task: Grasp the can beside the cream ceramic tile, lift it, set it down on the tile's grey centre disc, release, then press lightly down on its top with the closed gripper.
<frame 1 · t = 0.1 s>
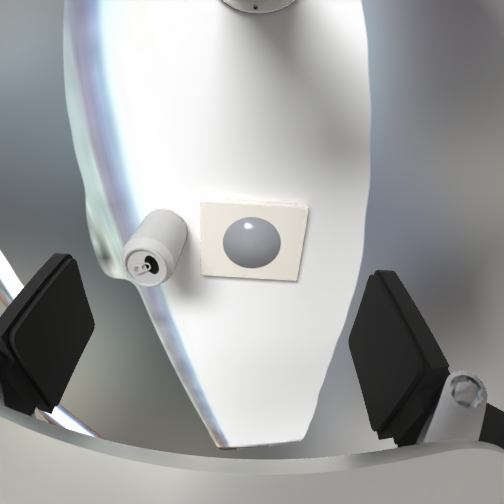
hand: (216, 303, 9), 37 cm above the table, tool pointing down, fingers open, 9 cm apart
tile: (251, 239, 50), on the table
can: (166, 227, 49), on the table
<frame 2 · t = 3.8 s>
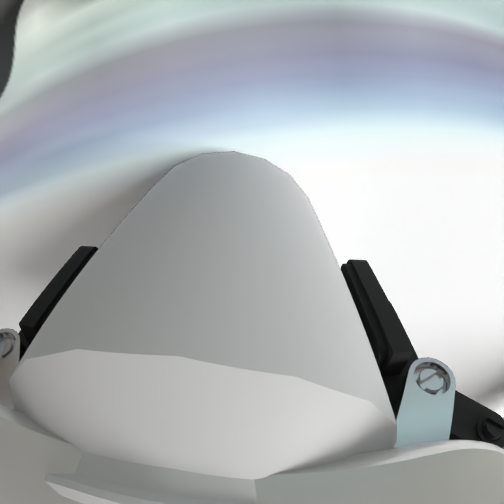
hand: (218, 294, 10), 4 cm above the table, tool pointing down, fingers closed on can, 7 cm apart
can: (228, 229, 14), on the table, touching gripper
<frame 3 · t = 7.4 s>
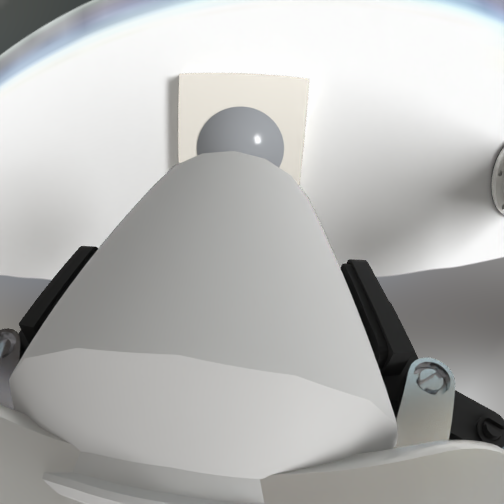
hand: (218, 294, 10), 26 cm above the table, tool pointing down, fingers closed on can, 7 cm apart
tile: (240, 146, 32), on the table
can: (228, 229, 14), point 21 cm above the table, touching gripper
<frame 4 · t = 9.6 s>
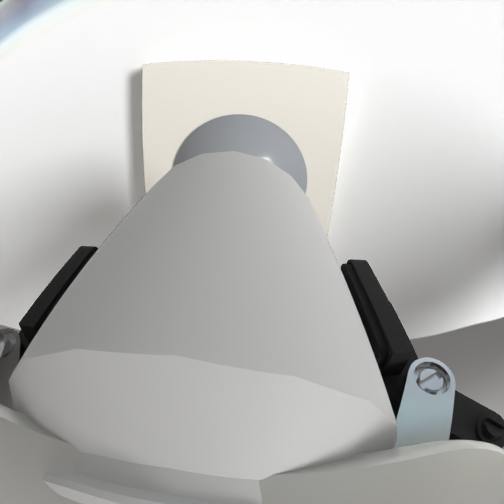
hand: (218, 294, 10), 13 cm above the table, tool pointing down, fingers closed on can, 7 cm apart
tile: (239, 175, 21), on the table
can: (228, 229, 14), point 9 cm above the table, touching gripper
when the fingers open (7 cm above the table, at t = 11.5 s): can stays where it is, resting on tile.
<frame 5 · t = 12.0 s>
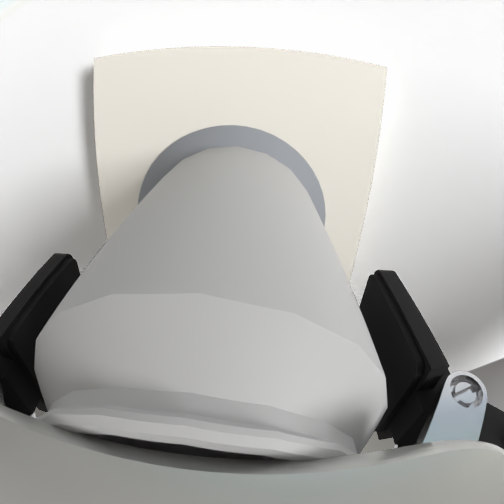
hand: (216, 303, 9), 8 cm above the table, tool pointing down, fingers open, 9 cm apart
tile: (231, 209, 16), on the table
can: (231, 220, 15), point 1 cm above the table, touching tile
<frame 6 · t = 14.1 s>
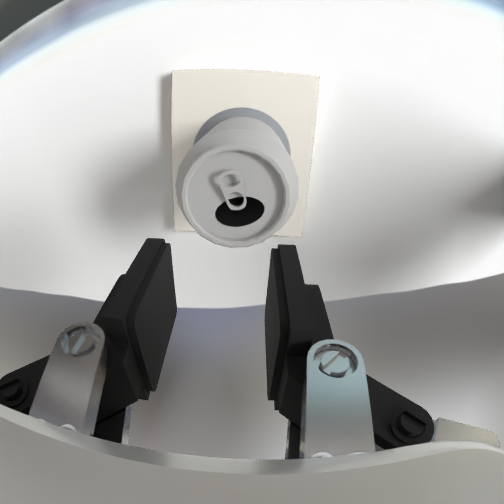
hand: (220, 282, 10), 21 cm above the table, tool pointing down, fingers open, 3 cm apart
tile: (241, 152, 29), on the table
can: (242, 155, 27), point 1 cm above the table, touching tile
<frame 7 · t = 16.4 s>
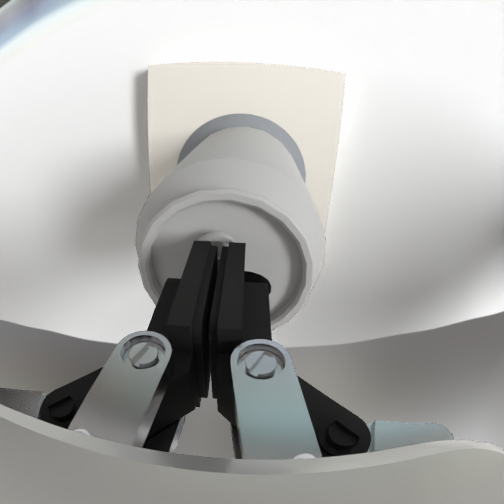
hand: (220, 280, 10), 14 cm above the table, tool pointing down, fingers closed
tile: (241, 172, 22), on the table
can: (241, 177, 21), point 1 cm above the table, touching gripper, tile
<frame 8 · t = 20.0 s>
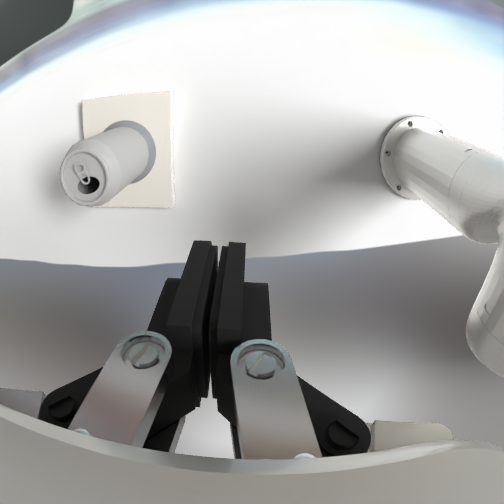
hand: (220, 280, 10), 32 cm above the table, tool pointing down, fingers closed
tile: (129, 150, 39), on the table
can: (125, 152, 38), point 1 cm above the table, touching tile
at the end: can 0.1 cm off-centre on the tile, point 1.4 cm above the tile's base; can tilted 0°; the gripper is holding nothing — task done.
